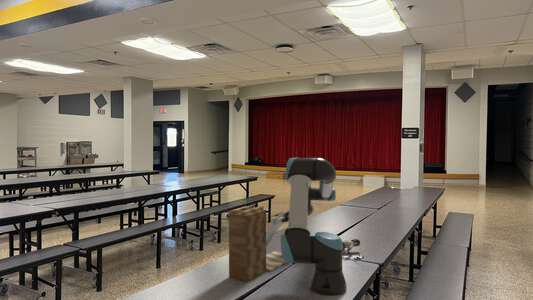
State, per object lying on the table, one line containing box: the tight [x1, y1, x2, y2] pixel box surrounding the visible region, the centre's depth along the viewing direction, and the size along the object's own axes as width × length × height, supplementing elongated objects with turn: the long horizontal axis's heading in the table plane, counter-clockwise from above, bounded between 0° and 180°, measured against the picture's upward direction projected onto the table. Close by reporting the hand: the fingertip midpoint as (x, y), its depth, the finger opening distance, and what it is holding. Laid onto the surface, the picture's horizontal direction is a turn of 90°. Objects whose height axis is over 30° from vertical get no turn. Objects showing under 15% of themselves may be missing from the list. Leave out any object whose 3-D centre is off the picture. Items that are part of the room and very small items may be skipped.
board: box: [266, 250, 288, 272], centre depth 192 cm, size 26×14×1 cm, turn 146°
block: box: [266, 211, 286, 248], centre depth 192 cm, size 24×3×3 cm
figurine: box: [342, 238, 361, 255], centre depth 205 cm, size 22×7×30 cm
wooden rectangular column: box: [228, 204, 267, 283], centre depth 173 cm, size 16×10×32 cm, turn 146°
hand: (274, 221), depth 193 cm, fingers closed on block, 3 cm apart
